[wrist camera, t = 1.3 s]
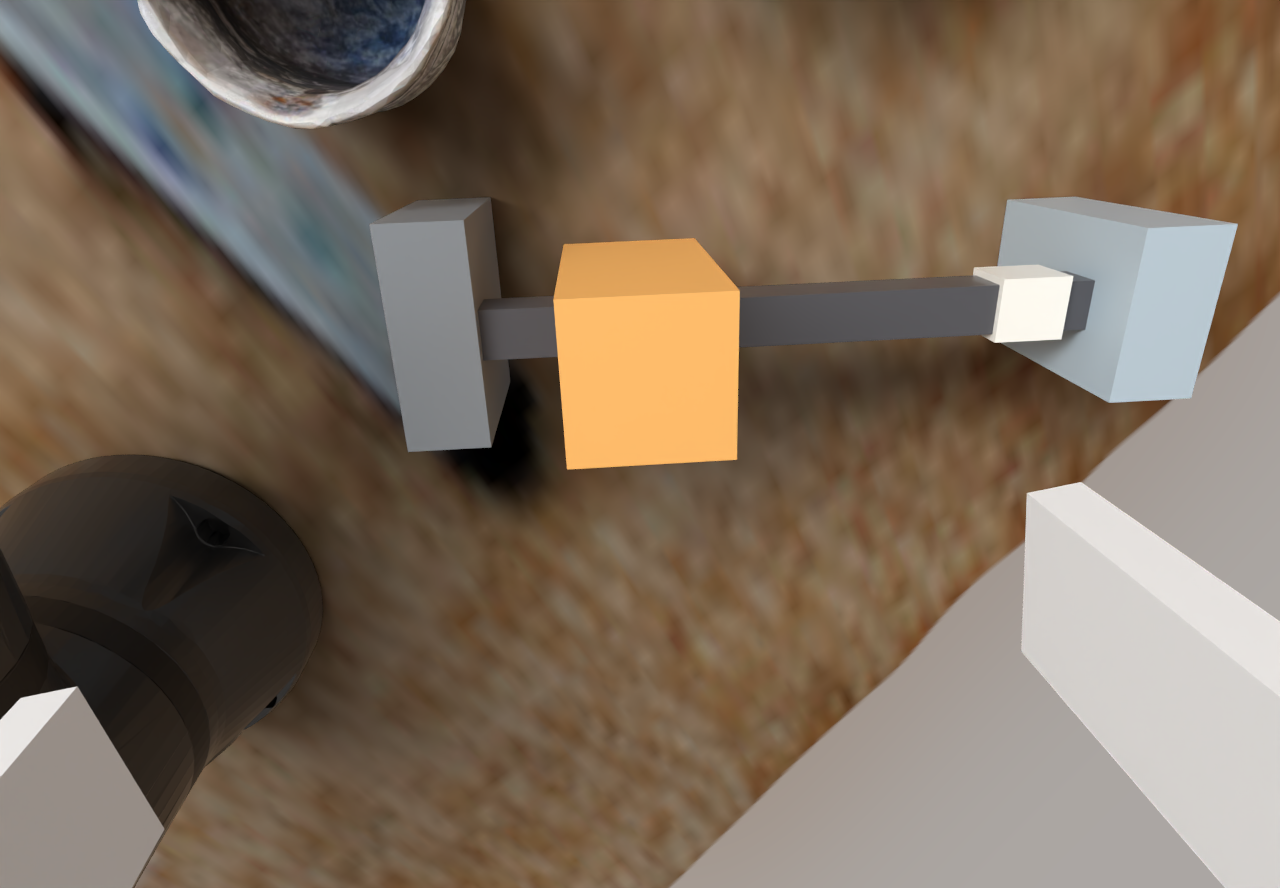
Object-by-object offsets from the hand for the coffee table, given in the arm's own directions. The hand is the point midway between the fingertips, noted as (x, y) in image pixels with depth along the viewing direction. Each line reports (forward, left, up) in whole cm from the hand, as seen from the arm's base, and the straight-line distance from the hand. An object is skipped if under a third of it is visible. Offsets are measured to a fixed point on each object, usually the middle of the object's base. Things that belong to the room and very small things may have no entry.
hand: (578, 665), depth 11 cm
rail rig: (+7, 0, -25) cm, 26 cm away
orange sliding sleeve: (+2, 0, -21) cm, 21 cm away
